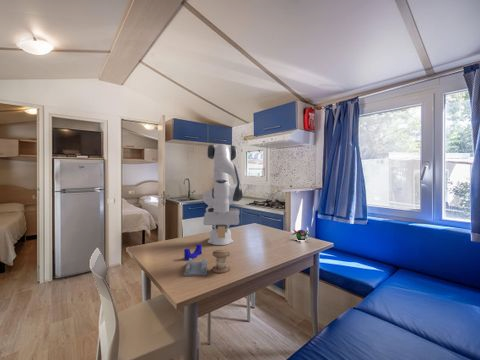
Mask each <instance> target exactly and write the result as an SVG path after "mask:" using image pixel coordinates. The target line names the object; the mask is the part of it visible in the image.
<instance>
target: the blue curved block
mask: <svg viewBox="0 0 480 360" xmlns="http://www.w3.org/2000/svg"><path fill="white" fill-rule="evenodd" d="M202 250H203V244H200V243H197V244H196V247H195V250H194V251H193V252H192V253H191V250H190V248H184V250H183V252H184V253H183V256H184V260H187V261H189V258H192V260H194V259H197V258H198V256H200V255H203V254H202V253H203V251H202Z"/></svg>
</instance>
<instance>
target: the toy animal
mask: <svg viewBox="0 0 480 360" xmlns="http://www.w3.org/2000/svg"><path fill="white" fill-rule="evenodd" d="M292 230H293V231H294V233H291V234H290V235H291V236H294V235H295V236H296V238H297V239H298V240H305V239H308V237H312V236H311V235H310V233H309V231H310V230H309V229H307V230H306V231H305V230H304V229H299V230H295V229H294V228H292Z"/></svg>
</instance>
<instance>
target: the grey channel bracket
mask: <svg viewBox="0 0 480 360" xmlns="http://www.w3.org/2000/svg"><path fill="white" fill-rule="evenodd" d="M207 273H208V261H207V259H206V257H202V261H201V260H200V261H193V259H192V258H189V260H187V262H186V266H185V269H184V273H183V277H196V276H197V277H198V276H207Z"/></svg>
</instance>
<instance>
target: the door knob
mask: <svg viewBox="0 0 480 360" xmlns="http://www.w3.org/2000/svg"><path fill="white" fill-rule="evenodd" d="M230 255H231V252H230V250H228V249H217V250H214V251H213V252H212V257H215V259H216V263H215V264H216V265H214V266H212V272H214V273H216V274H225V273H228V272H230V270H231V268H230V266H229V265H228V264H227V257H230Z"/></svg>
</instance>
